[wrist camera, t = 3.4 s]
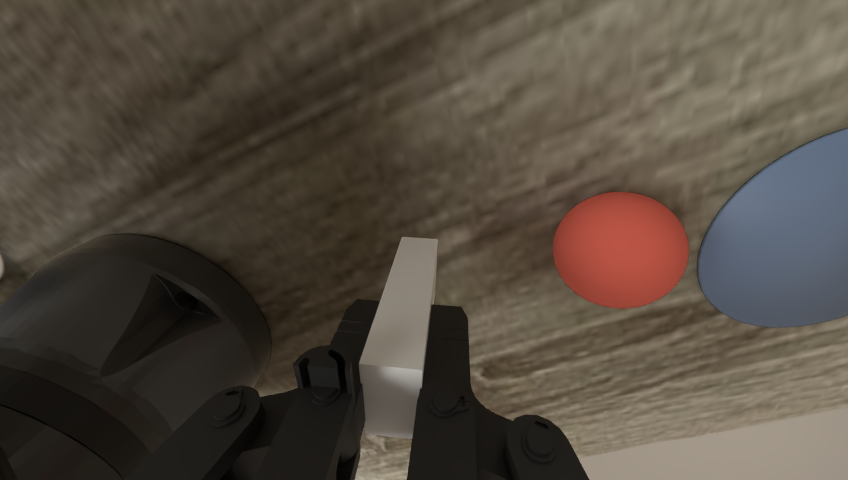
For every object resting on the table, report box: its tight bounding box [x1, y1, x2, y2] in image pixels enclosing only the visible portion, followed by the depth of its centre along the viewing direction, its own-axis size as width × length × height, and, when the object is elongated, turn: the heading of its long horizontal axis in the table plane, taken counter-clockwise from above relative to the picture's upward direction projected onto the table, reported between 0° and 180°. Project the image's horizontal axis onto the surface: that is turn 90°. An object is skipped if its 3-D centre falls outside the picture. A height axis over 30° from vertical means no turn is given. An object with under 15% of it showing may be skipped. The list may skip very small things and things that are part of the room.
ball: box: [553, 192, 689, 308], centre depth 15 cm, size 6×6×6 cm
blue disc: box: [697, 128, 848, 327], centre depth 17 cm, size 12×12×1 cm
